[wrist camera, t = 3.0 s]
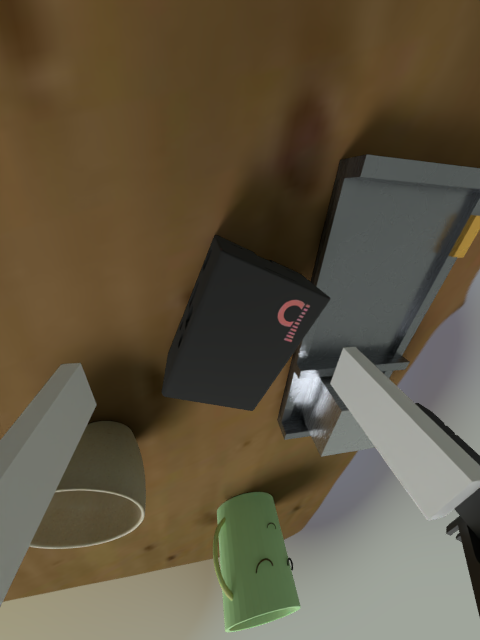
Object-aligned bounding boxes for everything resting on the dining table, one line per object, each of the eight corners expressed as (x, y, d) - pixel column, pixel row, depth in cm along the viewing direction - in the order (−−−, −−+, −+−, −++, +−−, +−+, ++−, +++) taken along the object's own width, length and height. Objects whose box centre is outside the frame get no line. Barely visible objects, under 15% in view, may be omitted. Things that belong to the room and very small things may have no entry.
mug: (285, 495, 39) (317, 601, 29) (248, 520, 42) (265, 625, 32) (231, 485, 33) (247, 613, 23) (193, 515, 37) (192, 640, 26)
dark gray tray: (340, 160, 14) (415, 144, 9) (492, 177, 16) (614, 172, 11) (277, 419, 27) (294, 468, 22) (366, 408, 29) (398, 450, 24)
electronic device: (168, 351, 19) (160, 396, 15) (214, 233, 15) (222, 250, 11) (242, 368, 22) (254, 412, 18) (299, 273, 18) (333, 299, 13)
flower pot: (164, 406, 22) (153, 488, 16) (149, 461, 27) (136, 541, 20) (46, 398, 19) (-23, 495, 13) (51, 461, 23) (1, 556, 17)
